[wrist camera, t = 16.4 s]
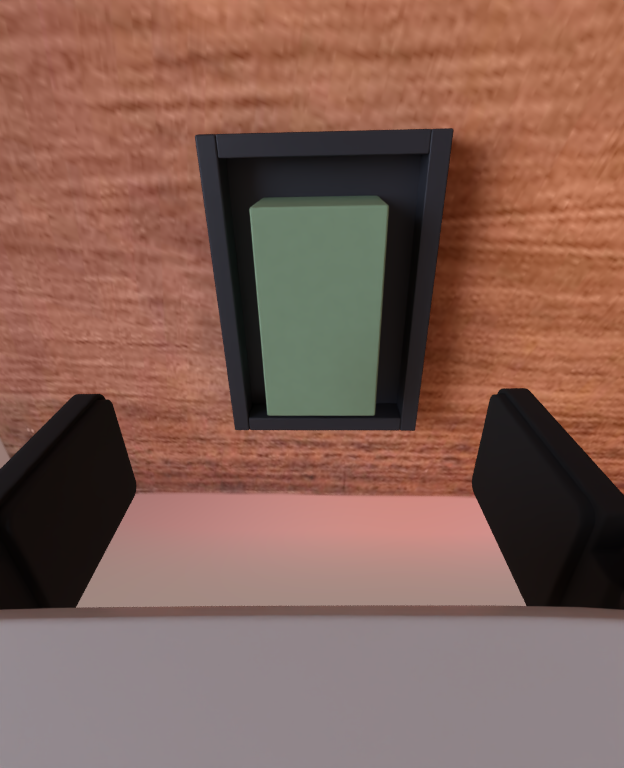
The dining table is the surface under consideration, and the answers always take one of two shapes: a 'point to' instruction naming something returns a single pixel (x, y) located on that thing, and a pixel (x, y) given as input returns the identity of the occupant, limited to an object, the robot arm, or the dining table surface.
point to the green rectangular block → (320, 301)
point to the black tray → (316, 179)
